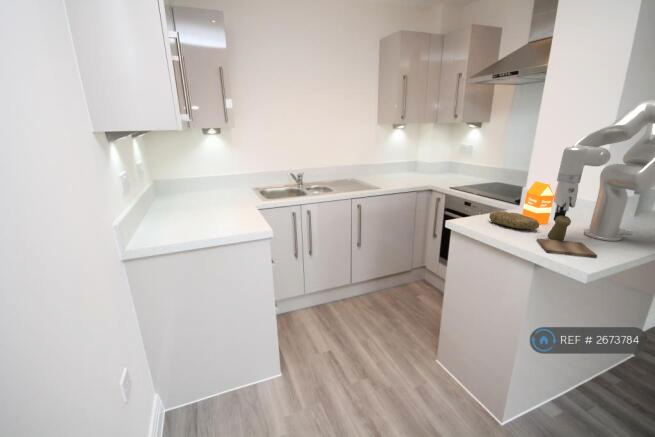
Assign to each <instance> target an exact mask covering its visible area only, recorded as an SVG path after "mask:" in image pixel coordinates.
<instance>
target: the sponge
mask: <svg viewBox="0 0 655 437" xmlns="http://www.w3.org/2000/svg"><path fill="white" fill-rule="evenodd" d="M522 214H523V213H522ZM522 214H521V213H517V212H508V211H505V210H503V211H502V210H494V211H493V212H491V213H489V216H488V217H489V219H490V222H492V223H495V224H498V225H501V226H506V227H509V228H513V229H519V230H536V229H539V228H540V224H539V223H538V221H537V220H536V219H533V218H531V217H528V216H525V215H522Z"/></svg>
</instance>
